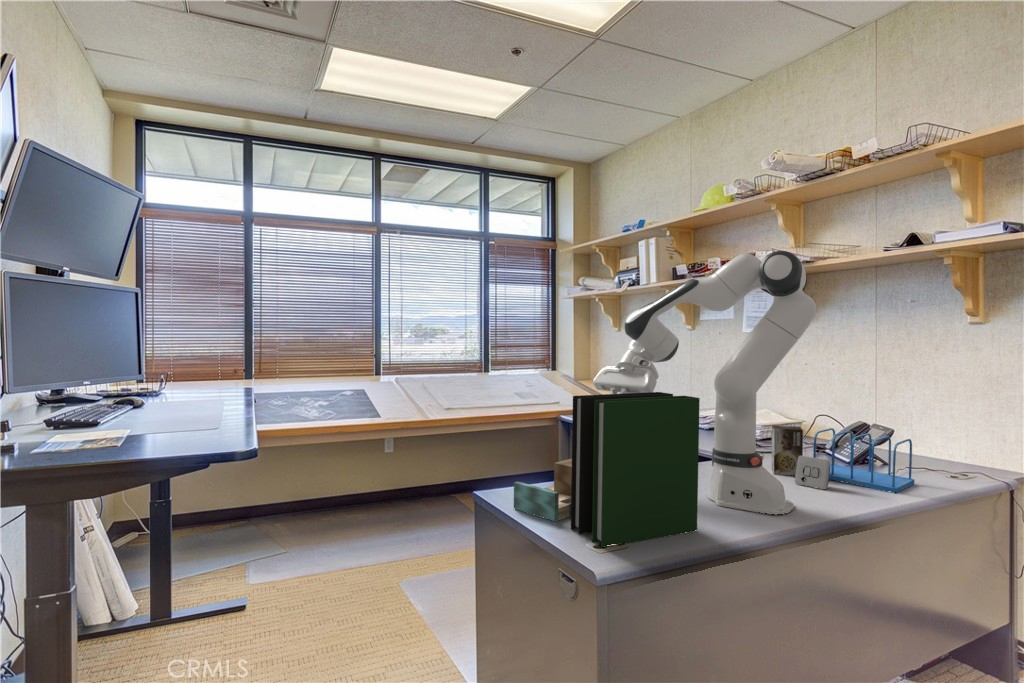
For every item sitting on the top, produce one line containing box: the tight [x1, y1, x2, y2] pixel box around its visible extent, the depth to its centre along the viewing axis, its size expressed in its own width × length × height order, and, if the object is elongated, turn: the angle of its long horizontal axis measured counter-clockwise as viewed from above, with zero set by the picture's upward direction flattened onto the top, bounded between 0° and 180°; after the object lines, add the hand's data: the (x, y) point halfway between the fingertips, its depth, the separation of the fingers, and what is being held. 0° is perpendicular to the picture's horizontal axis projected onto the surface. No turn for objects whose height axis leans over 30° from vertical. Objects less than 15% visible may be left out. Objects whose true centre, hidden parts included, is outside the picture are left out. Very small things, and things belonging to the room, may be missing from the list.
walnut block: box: [553, 458, 572, 496], centre depth 151 cm, size 6×8×8 cm
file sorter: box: [813, 427, 915, 494], centre depth 180 cm, size 25×17×15 cm
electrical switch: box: [794, 455, 832, 490], centre depth 172 cm, size 9×5×9 cm, turn 41°
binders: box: [570, 391, 701, 548], centre depth 130 cm, size 27×15×32 cm, turn 116°
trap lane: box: [513, 481, 571, 522], centre depth 147 cm, size 14×20×7 cm
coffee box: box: [770, 424, 804, 477], centre depth 187 cm, size 9×6×16 cm
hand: (613, 400), depth 166 cm, fingers closed
